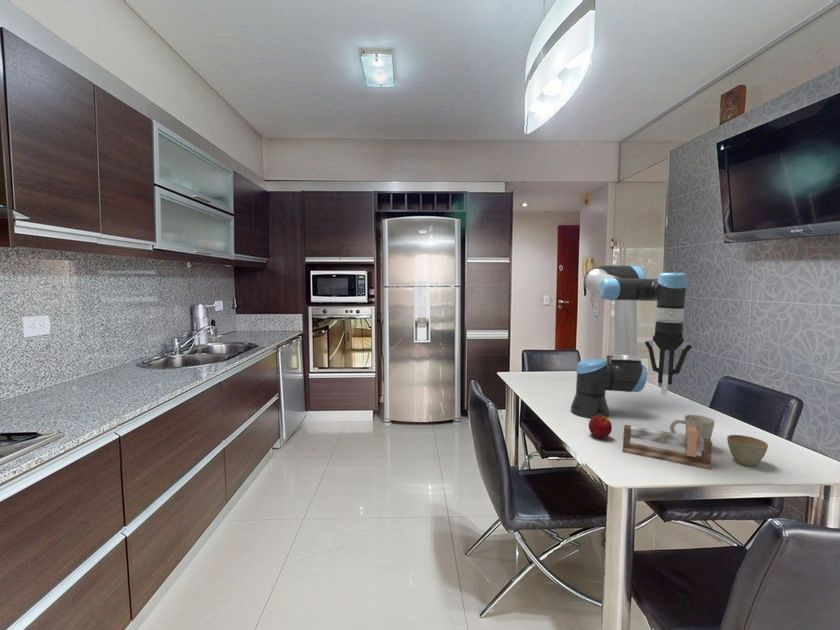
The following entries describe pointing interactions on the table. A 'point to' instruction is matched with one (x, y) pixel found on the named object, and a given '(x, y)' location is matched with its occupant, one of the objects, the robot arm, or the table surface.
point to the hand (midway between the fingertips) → (664, 393)
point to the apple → (600, 426)
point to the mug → (697, 425)
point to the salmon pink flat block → (691, 440)
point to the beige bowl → (746, 449)
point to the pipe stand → (664, 454)
